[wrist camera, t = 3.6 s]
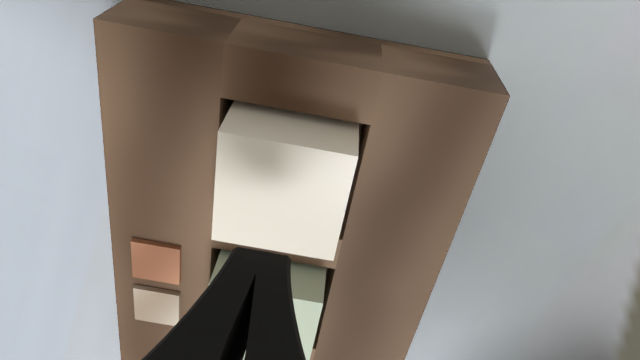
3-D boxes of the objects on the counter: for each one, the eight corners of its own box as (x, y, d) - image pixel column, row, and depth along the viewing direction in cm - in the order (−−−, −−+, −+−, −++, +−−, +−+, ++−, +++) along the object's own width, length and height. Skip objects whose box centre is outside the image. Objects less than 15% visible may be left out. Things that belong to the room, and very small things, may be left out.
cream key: (359, 117, 16) (358, 156, 14) (336, 214, 19) (333, 261, 17) (236, 95, 16) (217, 131, 14) (228, 195, 18) (211, 239, 16)
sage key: (327, 255, 20) (323, 303, 18) (311, 324, 22) (306, 374, 20) (225, 237, 20) (208, 283, 17) (219, 308, 22) (204, 357, 20)
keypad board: (489, 59, 17) (511, 98, 14) (364, 405, 28) (364, 463, 25) (133, -7, 17) (90, 20, 14) (147, 369, 28) (124, 424, 25)
